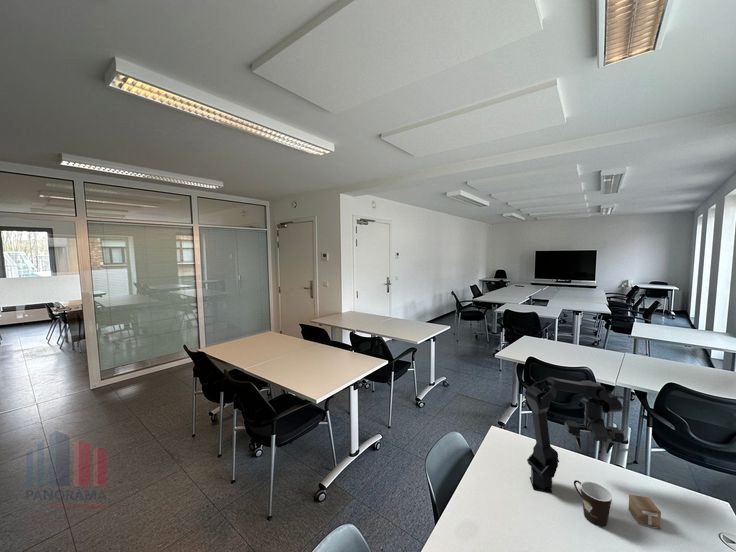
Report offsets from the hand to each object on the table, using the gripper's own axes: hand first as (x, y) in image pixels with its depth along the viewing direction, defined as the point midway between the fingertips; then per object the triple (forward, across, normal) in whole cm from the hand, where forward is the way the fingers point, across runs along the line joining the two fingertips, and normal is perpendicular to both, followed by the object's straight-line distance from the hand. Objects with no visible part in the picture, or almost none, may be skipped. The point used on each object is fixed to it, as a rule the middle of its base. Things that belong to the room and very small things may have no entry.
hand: (592, 450), depth 119 cm
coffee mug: (+12, -6, -20) cm, 24 cm away
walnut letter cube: (+12, +9, -17) cm, 23 cm away
